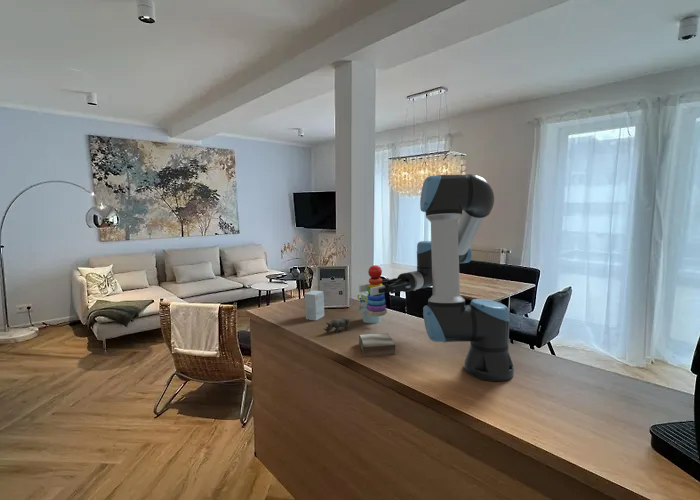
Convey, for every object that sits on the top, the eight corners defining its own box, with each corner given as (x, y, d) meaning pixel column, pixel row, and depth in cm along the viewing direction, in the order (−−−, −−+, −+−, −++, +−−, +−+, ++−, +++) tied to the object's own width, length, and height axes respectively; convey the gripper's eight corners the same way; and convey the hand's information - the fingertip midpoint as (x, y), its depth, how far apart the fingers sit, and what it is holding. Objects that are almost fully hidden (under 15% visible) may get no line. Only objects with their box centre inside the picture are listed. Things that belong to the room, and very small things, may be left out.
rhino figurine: (321, 333, 156) (320, 320, 155) (347, 327, 163) (347, 314, 163) (325, 336, 153) (325, 322, 152) (352, 329, 160) (352, 316, 159)
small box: (314, 314, 184) (313, 290, 182) (324, 316, 181) (323, 291, 179) (305, 319, 177) (304, 293, 175) (316, 320, 174) (315, 294, 172)
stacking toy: (386, 310, 140) (386, 263, 137) (386, 317, 132) (386, 267, 129) (366, 310, 141) (366, 263, 138) (365, 317, 133) (364, 267, 130)
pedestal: (395, 354, 132) (395, 343, 132) (363, 356, 131) (363, 346, 131) (388, 342, 144) (388, 332, 144) (359, 344, 143) (358, 334, 143)
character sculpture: (348, 318, 177) (347, 291, 175) (366, 313, 183) (366, 288, 181) (372, 329, 160) (372, 299, 159) (392, 323, 167) (392, 295, 165)
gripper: (427, 294, 138) (382, 305, 125) (393, 286, 154) (350, 295, 140) (427, 275, 138) (381, 284, 124) (393, 269, 153) (349, 276, 139)
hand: (365, 290), depth 132 cm, fingers closed on stacking toy, 6 cm apart
